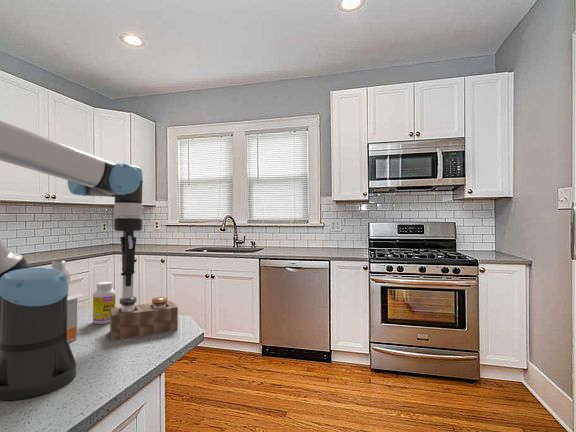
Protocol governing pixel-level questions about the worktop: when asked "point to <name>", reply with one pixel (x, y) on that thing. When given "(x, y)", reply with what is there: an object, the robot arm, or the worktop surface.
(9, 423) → the worktop surface
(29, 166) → the robot arm
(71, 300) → the skincare box
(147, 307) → the walnut block
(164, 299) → the rust plunger
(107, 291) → the supplement bottle
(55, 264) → the plastic bottle
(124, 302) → the charcoal plunger
